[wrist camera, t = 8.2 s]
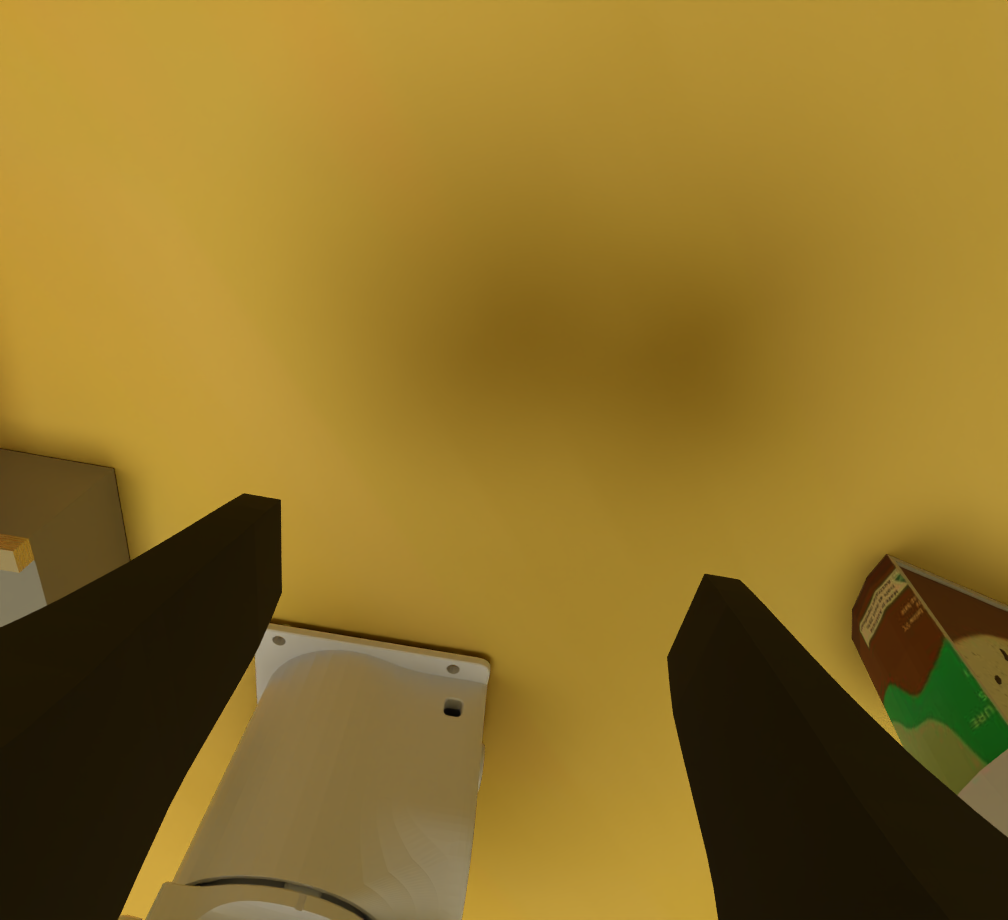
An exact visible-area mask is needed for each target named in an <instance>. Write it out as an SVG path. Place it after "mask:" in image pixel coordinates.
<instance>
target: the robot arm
mask: <svg viewBox="0 0 1008 920" xmlns="http://www.w3.org/2000/svg"><path fill="white" fill-rule="evenodd" d="M281 593H282V568H281V500H279V499H273V498H267V497H262V496H256V495H250V494H242V495H240V496H238V497H237V498H235V499H233V500H231V501H230V502H228V503H226V504H225V505H223V506H221V507H220V508H218V509H216V510H215V511H213V512H212V513H210V514H208V515H207V516H205V517H203V518H202V519H200V520H199V521H197V522H195V523H194V524H192V525H190V526H189V527H187V528H185V529H184V530H182V531H181V532H179V533H177V534H175V535H174V536H172V537H170V538H169V539H167V540H165V541H164V542H162V543H160V544H159V545H157V546H155V547H153V548H152V549H150V550H148V551H147V552H145V553H143V554H142V555H140V556H138V557H137V558H135V559H133V560H131V561H130V562H128V563H126V564H124V565H122V566H120V567H118V568H117V569H115V570H113V571H111V572H109V573H107V574H105V575H104V576H102V577H100V578H98V579H96V580H94V581H92V582H91V583H89V584H87V585H85V586H83V587H81V588H79V589H77V590H76V591H74V592H72V593H70V594H68V595H66V596H64V597H63V598H61V599H59V600H57V601H55V602H53V603H51V604H49V605H47V606H45V607H43V608H41V609H39V610H36V611H34V612H32V613H30V614H28V615H26V616H24V617H22V618H20V619H18V620H15V621H13V622H11V623H9V624H7V625H4V626H2V627H0V920H142V918H138V917H134V916H130V915H122V916H120V914H121V912H122V910H123V907H124V905H125V903H126V900H127V898H128V896H129V894H130V891H131V889H132V887H133V885H134V882H135V880H136V878H137V875H138V873H139V871H140V869H141V867H142V865H143V862H144V860H145V858H146V856H147V854H148V852H149V849H150V847H151V845H152V843H153V841H154V839H155V836H156V834H157V832H158V830H159V828H160V826H161V823H162V821H163V819H164V817H165V815H166V813H167V810H168V808H169V806H170V804H171V802H172V800H173V798H174V796H175V795H176V793H177V791H178V789H179V787H180V785H181V783H182V781H183V779H184V777H185V776H186V774H187V772H188V770H189V768H190V767H191V765H192V763H193V762H194V760H195V758H196V756H197V755H198V753H199V751H200V749H201V748H202V746H203V744H204V742H205V741H206V739H207V737H208V736H209V734H210V732H211V730H212V729H213V727H214V725H215V723H216V722H217V720H218V718H219V716H220V715H221V713H222V711H223V710H224V708H225V706H226V704H227V703H228V701H229V699H230V697H231V696H232V694H233V692H234V691H235V689H236V687H237V685H238V683H239V682H240V680H241V678H242V676H243V675H244V673H245V671H246V669H247V668H248V666H249V664H250V662H251V661H252V659H253V657H254V655H255V666H256V689H257V707H256V709H255V711H254V713H253V715H252V717H251V719H250V721H249V723H248V726H247V728H246V730H245V732H244V734H243V736H242V738H241V740H240V742H239V744H238V746H237V748H236V750H235V753H234V755H233V757H232V759H231V761H230V763H229V765H228V767H227V769H226V771H225V773H224V775H223V778H222V780H221V782H220V784H219V786H218V788H217V790H216V792H215V794H214V796H213V798H212V800H211V802H210V805H209V807H208V809H207V811H206V813H205V815H204V817H203V819H202V821H201V823H200V825H199V827H198V829H197V832H196V834H195V836H194V838H193V840H192V842H191V844H190V846H189V848H188V850H187V852H186V854H185V857H184V859H183V861H182V863H181V865H180V867H179V869H178V871H177V873H176V875H175V877H174V879H173V881H172V882H165V883H164V884H163V885H162V887H161V889H160V891H159V893H158V895H157V897H156V899H155V901H154V903H153V905H152V907H151V909H150V911H149V913H148V915H147V917H146V919H145V920H462V915H463V909H464V903H465V896H466V889H467V882H468V875H469V868H470V860H471V852H472V844H473V835H474V826H475V815H476V804H477V793H478V791H479V788H480V784H481V779H482V773H483V765H484V756H485V745H484V744H482V738H483V727H484V716H485V705H486V694H487V684H488V680H489V676H490V664H489V662H488V661H486V660H485V659H482V658H478V657H472V656H466V655H460V654H454V653H447V652H441V651H435V650H429V649H423V648H417V647H411V646H405V645H399V644H393V643H387V642H381V641H375V640H369V639H363V638H356V637H350V636H344V635H338V634H332V633H326V632H320V631H314V630H308V629H302V628H296V627H290V626H284V625H278V624H272V623H270V620H271V618H272V616H273V613H274V611H275V608H276V606H277V603H278V601H279V598H280V596H281ZM279 636H280V637H279ZM281 637H283V638H281ZM667 661H668V672H669V682H670V692H671V700H672V708H673V715H674V720H675V724H676V729H677V733H678V737H679V742H680V746H681V750H682V754H683V759H684V763H685V767H686V771H687V775H688V779H689V783H690V787H691V792H692V796H693V800H694V804H695V808H696V812H697V816H698V820H699V824H700V828H701V833H702V837H703V841H704V845H705V849H706V853H707V858H708V863H709V868H710V873H711V878H712V882H713V888H714V894H715V901H716V908H717V914H718V920H1008V837H1007V836H1006V835H1004V834H1003V833H1002V832H1001V831H999V830H998V829H997V828H996V827H994V826H993V825H992V824H991V823H990V822H988V821H987V820H986V819H985V818H983V817H982V816H981V815H980V814H979V813H977V812H976V811H975V810H974V809H973V808H971V807H970V806H969V805H968V804H967V803H966V802H964V801H963V800H962V799H961V798H960V797H959V796H958V795H956V794H955V793H954V792H953V791H952V790H951V789H949V788H948V787H947V786H946V785H945V784H944V783H942V782H941V781H940V780H939V779H938V778H937V777H936V776H934V775H933V774H932V773H931V772H930V771H929V770H927V769H926V768H925V767H924V766H923V765H922V764H921V763H920V762H919V761H917V760H916V759H915V758H914V757H913V756H912V755H911V754H910V753H909V752H908V751H906V750H905V749H904V748H903V747H902V746H901V745H900V744H899V743H898V742H897V741H896V740H895V739H894V738H893V737H892V736H891V735H890V734H889V733H888V732H886V731H885V730H884V729H883V728H882V727H881V726H880V725H879V724H878V723H877V722H876V721H875V720H874V719H873V718H872V717H871V716H870V715H869V714H868V713H867V712H866V711H865V710H864V709H863V708H862V707H861V706H860V705H859V704H858V703H857V702H856V701H855V700H854V699H853V698H852V697H851V696H850V695H849V694H848V693H847V692H846V691H845V690H844V689H843V688H842V687H841V686H840V685H839V684H838V683H837V682H836V681H835V680H834V679H833V678H832V677H831V676H830V675H829V674H828V673H827V672H826V670H825V669H824V668H823V667H822V666H821V665H820V664H819V663H818V662H817V661H816V660H815V659H814V658H813V657H812V656H811V655H810V654H809V652H808V651H807V650H806V649H805V648H804V647H803V646H802V645H801V644H800V643H799V642H798V641H797V640H796V638H795V637H794V636H793V635H792V634H791V633H790V632H789V631H788V630H787V629H786V628H785V627H784V625H783V624H782V623H781V622H780V621H779V620H778V619H777V618H776V617H775V616H774V615H773V614H772V612H771V611H770V610H769V609H768V608H767V607H766V606H765V605H764V604H763V603H762V602H761V601H760V600H759V599H758V598H757V597H756V595H755V594H754V593H753V592H752V591H751V590H750V589H749V588H748V587H747V586H746V585H745V584H743V583H742V582H741V581H740V580H738V579H733V578H727V577H721V576H715V575H710V574H704V576H703V578H702V581H701V583H700V585H699V587H698V590H697V592H696V594H695V596H694V599H693V601H692V603H691V605H690V607H689V610H688V612H687V614H686V616H685V619H684V621H683V623H682V625H681V627H680V630H679V632H678V634H677V636H676V639H675V641H674V643H673V645H672V647H671V650H670V652H669V654H668V656H667ZM452 665H456V666H452ZM119 916H120V917H119Z"/></svg>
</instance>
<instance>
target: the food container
mask: <svg viewBox="0 0 1008 920" xmlns="http://www.w3.org/2000/svg"><path fill="white" fill-rule="evenodd" d="M852 640H853V642H854V644H855V646H856V648H857V650H858V652H859V654H860V657H861V659H862V661H863V663H864V665H865V667H866V669H867V671H868V673H869V676H870V678H871V680H872V682H873V684H874V686H875V688H876V690H877V692H878V694H879V697H880V699H881V701H882V703H883V705H884V707H885V709H886V711H887V713H888V715H889V718H890V720H891V722H892V724H893V726H894V728H895V730H896V732H897V734H898V736H899V739H900V741H901V743H902V745H903V747H904V749H905V750H906V751H908V752H909V753H910V754H911V755H912V756H913V757H914V758H915V759H916V760H917V761H919V762H920V763H921V764H922V765H923V766H924V767H925V768H926V769H927V770H929V771H930V772H931V773H932V774H933V775H934V776H936V777H937V778H938V779H939V780H940V781H941V782H942V783H944V784H945V785H946V786H947V787H948V788H949V789H951V790H952V791H953V792H954V793H955V794H956V795H958V796H959V797H960V798H961V799H962V800H963V801H964V802H966V803H967V804H968V805H969V806H970V807H971V808H973V809H974V810H975V811H976V812H977V813H979V814H980V815H981V816H982V817H983V818H985V819H986V820H987V821H988V822H990V823H991V824H992V825H993V826H994V827H996V828H997V829H998V830H999V831H1001V832H1002V833H1003V834H1004V835H1006V836H1007V837H1008V605H1005V604H1003V603H1001V602H998V601H996V600H994V599H991V598H989V597H987V596H984V595H982V594H980V593H977V592H975V591H972V590H970V589H968V588H965V587H963V586H961V585H958V584H956V583H954V582H951V581H949V580H947V579H944V578H942V577H939V576H937V575H935V574H932V573H930V572H928V571H925V570H923V569H921V568H918V567H916V566H914V565H911V564H909V563H907V562H904V561H902V560H899V559H897V558H895V557H892V556H890V555H888V554H886V555H885V557H884V558H883V559H882V560H881V561H880V562H879V564H878V565H877V566H876V567H875V568H874V570H873V571H872V572H871V573H870V574H869V576H868V577H867V578H866V580H865V582H864V585H863V587H862V589H861V591H860V593H859V596H858V598H857V600H856V602H855V605H854V607H853V609H852Z"/></svg>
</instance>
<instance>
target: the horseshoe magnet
mask: <svg viewBox="0 0 1008 920" xmlns="http://www.w3.org/2000/svg"><path fill="white" fill-rule="evenodd" d="M128 562H130V559H129V553H128V548H127V542H126V536H125V530H124V525H123V519H122V513H121V507H120V502H119V496H118V490H117V484H116V479H115V473H114V469H113V468H108V467H102V466H96V465H90V464H85V463H79V462H73V461H67V460H62V459H56V458H50V457H44V456H39V455H33V454H27V453H22V452H16V451H10V450H4V449H0V627H2V626H4V625H7V624H9V623H11V622H13V621H15V620H18V619H20V618H22V617H24V616H26V615H28V614H30V613H32V612H34V611H36V610H39V609H41V608H43V607H45V606H47V605H49V604H51V603H53V602H55V601H57V600H59V599H61V598H63V597H64V596H66V595H68V594H70V593H72V592H74V591H76V590H77V589H79V588H81V587H83V586H85V585H87V584H89V583H91V582H92V581H94V580H96V579H98V578H100V577H102V576H104V575H105V574H107V573H109V572H111V571H113V570H115V569H117V568H118V567H120V566H122V565H124V564H126V563H128Z"/></svg>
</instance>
